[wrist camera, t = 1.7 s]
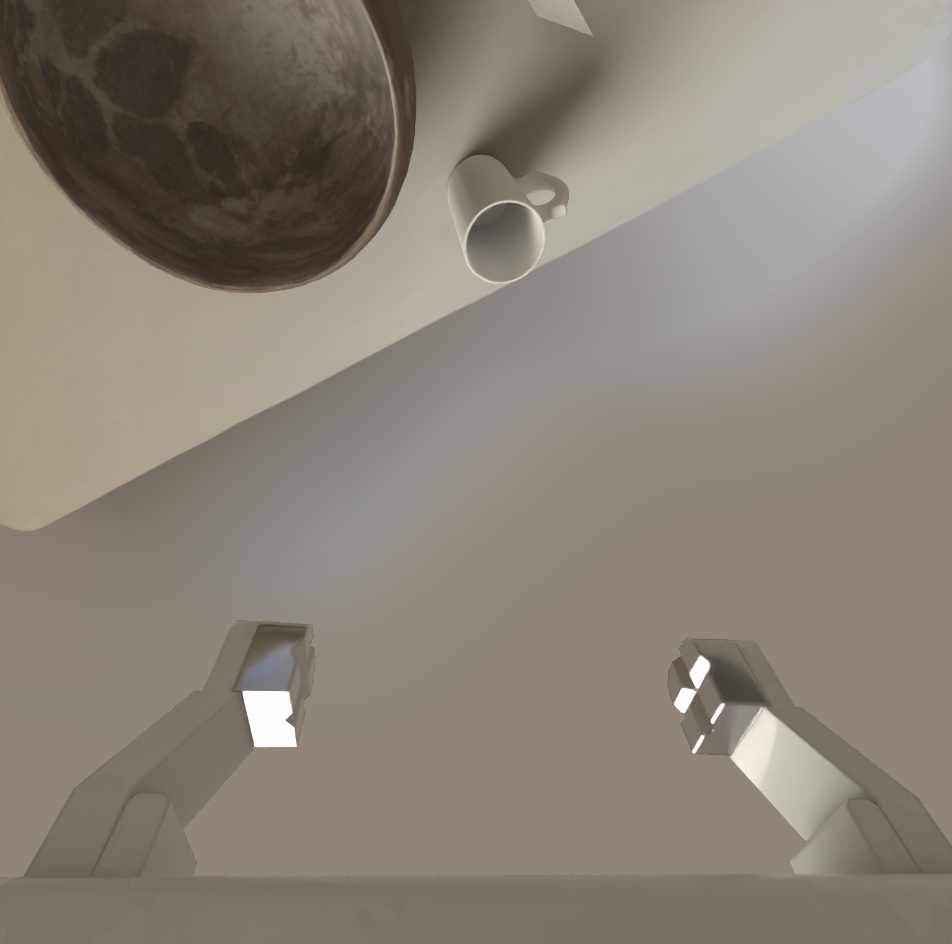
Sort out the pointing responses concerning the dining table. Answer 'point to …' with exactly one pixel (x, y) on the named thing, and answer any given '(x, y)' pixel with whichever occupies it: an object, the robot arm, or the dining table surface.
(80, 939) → the robot arm
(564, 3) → the toilet tissue
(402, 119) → the bowl
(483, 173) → the mug
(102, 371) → the dining table surface
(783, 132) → the dining table surface
